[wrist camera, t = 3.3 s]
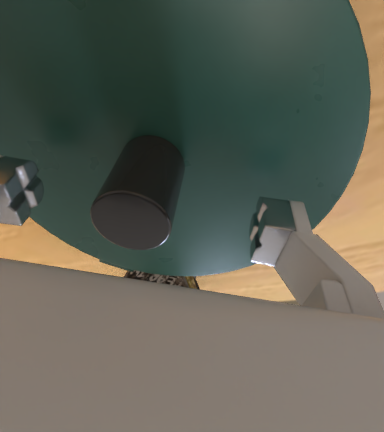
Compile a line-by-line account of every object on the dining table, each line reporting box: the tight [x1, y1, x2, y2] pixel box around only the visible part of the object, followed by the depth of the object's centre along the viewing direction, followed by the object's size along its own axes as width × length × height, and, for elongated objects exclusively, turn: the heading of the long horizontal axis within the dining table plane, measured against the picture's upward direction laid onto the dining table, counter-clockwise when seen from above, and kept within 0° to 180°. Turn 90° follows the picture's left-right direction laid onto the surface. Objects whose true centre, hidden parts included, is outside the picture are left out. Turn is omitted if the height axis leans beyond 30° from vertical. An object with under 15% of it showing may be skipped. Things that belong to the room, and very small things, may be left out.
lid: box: [0, 0, 371, 276], centre depth 10 cm, size 16×16×5 cm
